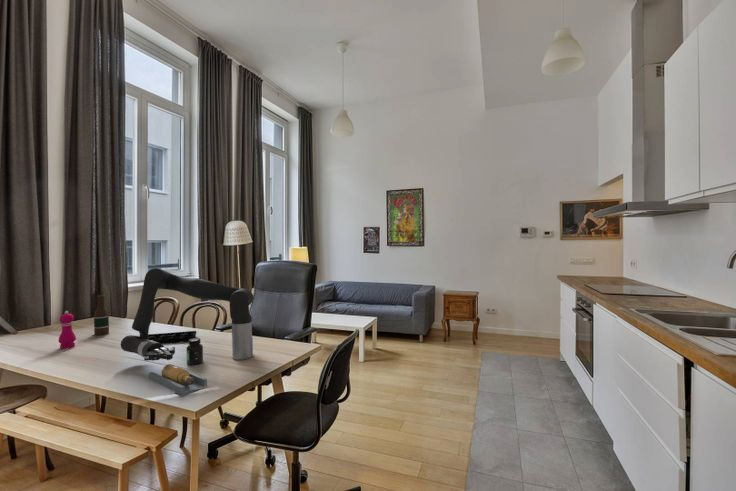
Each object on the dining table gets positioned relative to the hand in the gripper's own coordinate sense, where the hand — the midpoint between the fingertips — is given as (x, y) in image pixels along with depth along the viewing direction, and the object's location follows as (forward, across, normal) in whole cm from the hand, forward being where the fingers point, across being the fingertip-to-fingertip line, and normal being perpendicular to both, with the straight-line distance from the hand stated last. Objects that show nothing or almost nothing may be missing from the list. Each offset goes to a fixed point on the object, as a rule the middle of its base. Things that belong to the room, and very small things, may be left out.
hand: (170, 357), depth 146 cm
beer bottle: (-112, +12, +10) cm, 113 cm away
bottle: (-2, 0, +6) cm, 6 cm away
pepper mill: (-96, -9, +10) cm, 97 cm away
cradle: (+5, 0, +10) cm, 11 cm away
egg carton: (-61, +28, +11) cm, 68 cm away
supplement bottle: (-10, +16, +10) cm, 21 cm away
